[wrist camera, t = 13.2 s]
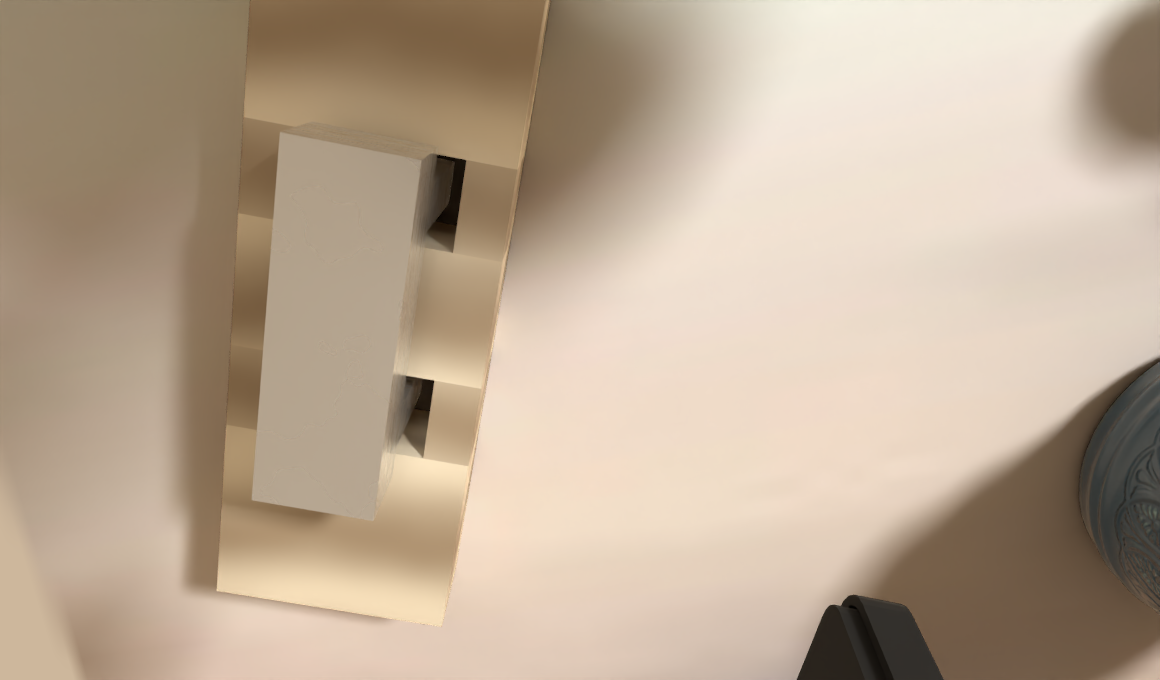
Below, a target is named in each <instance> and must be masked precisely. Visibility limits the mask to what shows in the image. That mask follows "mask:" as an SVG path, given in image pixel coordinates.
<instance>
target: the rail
mask: <svg viewBox="0 0 1160 680" xmlns="http://www.w3.org/2000/svg"><path fill="white" fill-rule="evenodd" d="M550 2H551V0H250V8H249V26H248V44H247V61H246V79H245V97H244V115H243V132H242V150H241V168H240V186H239V203H238V221H237V239H236V257H235V274H234V292H233V310H232V327H231V345H230V363H229V381H228V398H227V416H226V434H225V452H224V469H223V487H222V505H221V523H220V540H219V558H218V576H217V591H220V592H226V593H232V594H239V595H245V596H251V597H257V598H264V599H270V600H276V601H282V602H289V603H295V604H301V605H307V606H314V607H320V608H326V609H333V610H339V611H345V612H351V613H358V614H364V615H370V616H376V617H383V618H389V619H395V620H401V621H408V622H414V623H420V624H427V625H433V626H439V627H442V624H443V620H444V616H445V611H446V607H447V603H448V599H449V595H450V590H451V586H452V582H453V578H454V574H455V569H456V564H457V558H458V552H459V546H460V540H461V534H462V528H463V522H464V516H465V510H466V504H467V498H468V492H469V486H470V480H471V474H472V468H473V462H474V456H475V450H476V444H477V438H478V432H479V426H480V420H481V414H482V408H483V402H484V396H485V390H486V384H487V378H488V372H489V367H490V361H491V355H492V349H493V343H494V337H495V331H496V325H497V319H498V313H499V307H500V301H501V295H502V289H503V283H504V277H505V271H506V265H507V259H508V253H509V247H510V241H511V235H512V229H513V223H514V217H515V211H516V205H517V199H518V193H519V187H520V181H521V175H522V169H523V163H524V157H525V151H526V145H527V139H528V133H529V127H530V121H531V115H532V110H533V104H534V98H535V92H536V86H537V80H538V74H539V68H540V62H541V56H542V50H543V44H544V38H545V32H546V26H547V20H548V14H549V8H550ZM309 122H317V123H322V124H327V125H332V126H337V127H342V128H347V129H352V130H357V131H362V132H367V133H372V134H377V135H382V136H387V137H392V138H397V139H402V140H407V141H412V142H417V143H422V144H427V145H432V146H437V147H438V153H437V154H438V155H443V156H448V157H454V158H459V159H464V160H466V166H465V173H464V180H463V187H462V194H461V201H460V208H459V215H458V222H457V226H456V225H451V224H445V223H440V222H434V223H433V224H432V226H431V227H430V228H429V229H428V231H427V232H426V239H425V246H424V253H423V260H422V267H421V275H420V282H419V289H418V296H417V303H416V311H415V318H414V325H413V332H412V339H411V346H410V354H409V361H408V368H407V375H406V376H411V377H417V378H423V379H428V380H434V387H433V394H432V401H431V408H430V412H429V411H423V410H417V409H413V412H412V414H411V416H410V418H409V421H408V423H407V425H406V427H405V429H404V432H403V434H402V436H401V438H400V441H399V443H398V445H397V447H396V454H395V461H394V469H393V476H392V479H391V481H390V483H389V486H388V488H387V490H386V493H385V495H384V497H383V500H382V502H381V504H380V507H379V509H378V511H377V514H376V516H375V518H374V521H370V520H364V519H359V518H353V517H347V516H341V515H335V514H329V513H323V512H318V511H312V510H306V509H300V508H294V507H288V506H283V505H277V504H271V503H265V502H259V501H253V500H252V488H253V475H254V462H255V449H256V436H257V423H258V410H259V397H260V384H261V371H262V358H263V345H264V332H265V319H266V306H267V293H268V280H269V267H270V254H271V241H272V228H273V215H274V202H275V189H276V176H277V163H278V150H279V137H280V132H282V131H285V130H288V129H291V128H294V127H297V126H300V125H303V124H306V123H309Z"/></svg>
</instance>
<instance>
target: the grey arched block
mask: <svg viewBox="0 0 1160 680" xmlns="http://www.w3.org/2000/svg"><path fill="white" fill-rule="evenodd" d="M437 153H438V147H437V146H432V145H427V144H422V143H417V142H412V141H407V140H402V139H397V138H392V137H387V136H382V135H377V134H372V133H367V132H362V131H357V130H352V129H347V128H342V127H337V126H332V125H327V124H322V123H317V122H309V123H306V124H303V125H300V126H297V127H294V128H291V129H288V130H285V131H282V132H280V137H279V150H278V163H277V176H276V189H275V202H274V215H273V228H272V241H271V254H270V267H269V280H268V293H267V306H266V319H265V332H264V345H263V358H262V371H261V384H260V397H259V410H258V423H257V436H256V449H255V462H254V475H253V488H252V500H253V501H259V502H265V503H271V504H277V505H283V506H288V507H294V508H300V509H306V510H312V511H318V512H323V513H329V514H335V515H341V516H347V517H353V518H359V519H364V520H370V521H374V518H375V516H376V514H377V511H378V509H379V507H380V504H381V502H382V500H383V497H384V495H385V493H386V490H387V488H388V486H389V483H390V481H391V479H392V476H393V469H394V461H395V454H396V447H397V445H398V443H399V441H400V438H401V436H402V434H403V432H404V429H405V427H406V425H407V423H408V421H409V418H410V416H411V414H412V412H413V409H414V407H415V405H416V403H417V400H418V398H419V396H420V394H421V390H422V384H423V378H417V377H411V376H406V375H407V368H408V361H409V354H410V346H411V339H412V332H413V325H414V318H415V311H416V303H417V296H418V289H419V282H420V275H421V267H422V260H423V253H424V246H425V239H426V232H427V231H428V229H429V228H430V227H431V226H432V224H433V223H434V222H435V220H436V219H437V218H438V217H439V215H440V214H441V213H442V211H443V210H444V209H445V208H446V206H447V205H448V204H449V199H450V193H451V186H452V179H453V172H454V165H455V161H450V160H445V159H440V158H437Z"/></svg>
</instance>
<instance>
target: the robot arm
mask: <svg viewBox="0 0 1160 680" xmlns="http://www.w3.org/2000/svg"><path fill="white" fill-rule="evenodd" d="M797 680H944V679H943V677H942V675H941V673H940V671H939V669H938V667H937V665H936V663H935V661H934V659H933V657H932V655H931V653H930V651H929V649H928V647H927V645H926V642H925V640H924V638H923V636H922V634H921V632H920V630H919V628H918V626H917V624H916V622H915V620H914V618H913V616H912V614H911V612H910V611H909V610H908V608H907V607H906V606H904V605H902V604H898V603H893V602H888V601H883V600H878V599H873V598H868V597H863V596H858V595H851V596H848V597H847V598H846V599H845V600H844V601H843V603H842V605H841V606H838V605H830V606H829V607H828V608H827V609H826V611H825V612H824V614H823V617H822V619H821V621H820V624H819V626H818V629H817V631H816V634H815V636H814V639H813V641H812V644H811V646H810V649H809V651H808V653H807V656H806V658H805V661H804V663H803V666H802V668H801V671H800V673H799V676H798V678H797Z"/></svg>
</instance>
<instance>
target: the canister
mask: <svg viewBox="0 0 1160 680" xmlns="http://www.w3.org/2000/svg"><path fill="white" fill-rule="evenodd" d="M1079 501H1080V508H1081V513H1082V517H1083V521H1084V524H1085V526H1086V529H1087V531H1088V533H1089V535H1090V537H1091V539H1092V541H1093V542H1094V544H1095V545H1096V547H1097V549H1098V552H1099V554H1100V555H1101V557H1102V559H1103V561H1104V562H1105V564H1106V565H1107V566H1108V568H1109V569H1110V571H1111V572H1112V573H1113V574H1114V575H1115V576H1116V577H1117V578H1118V579H1119V580H1120V581H1121V582H1122V583H1123V585H1124V586H1125V587H1126V588H1127V589H1128V590H1129V591H1130V592H1131V593H1132V594H1133V595H1134V596H1135V597H1137V598H1138V599H1139V600H1140V601H1142V602H1143V603H1145V604H1146V605H1148V606H1149V607H1151V608H1152V609H1154V610H1155V611H1156V612H1157V613H1158V614H1159V615H1160V362H1158V363H1157V364H1155V365H1154V366H1153V367H1151V368H1150V369H1148V370H1147V371H1146V372H1145V373H1143V374H1142V375H1141V376H1140V377H1138V378H1137V379H1136V380H1135V381H1134V382H1133V383H1132V384H1131V385H1130V386H1129V387H1128V388H1127V389H1126V390H1125V391H1124V392H1123V393H1122V394H1121V395H1120V396H1119V397H1118V398H1117V399H1116V401H1115V402H1114V403H1113V404H1112V405H1111V407H1110V408H1109V410H1108V411H1107V412H1106V414H1105V415H1104V417H1103V418H1102V420H1101V421H1100V423H1099V425H1098V426H1097V428H1096V430H1095V432H1094V434H1093V436H1092V438H1091V440H1090V443H1089V445H1088V447H1087V450H1086V453H1085V456H1084V460H1083V463H1082V467H1081V473H1080V481H1079Z"/></svg>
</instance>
